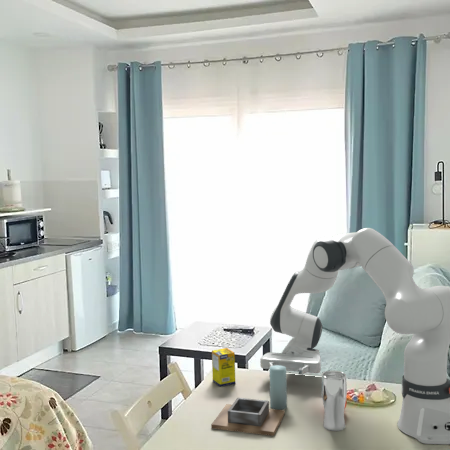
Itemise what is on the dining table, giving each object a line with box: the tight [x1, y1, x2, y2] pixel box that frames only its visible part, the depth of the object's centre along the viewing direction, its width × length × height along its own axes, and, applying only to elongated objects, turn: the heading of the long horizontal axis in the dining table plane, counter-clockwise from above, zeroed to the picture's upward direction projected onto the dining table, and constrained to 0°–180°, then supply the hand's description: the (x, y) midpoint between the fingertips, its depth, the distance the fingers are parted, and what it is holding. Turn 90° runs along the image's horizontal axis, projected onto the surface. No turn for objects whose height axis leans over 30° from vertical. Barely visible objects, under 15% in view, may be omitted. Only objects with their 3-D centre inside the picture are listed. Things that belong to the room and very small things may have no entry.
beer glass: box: [320, 369, 348, 432], centre depth 162 cm, size 7×7×15 cm
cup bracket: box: [210, 397, 286, 437], centre depth 167 cm, size 18×14×5 cm
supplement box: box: [211, 347, 236, 387], centre depth 196 cm, size 6×6×11 cm
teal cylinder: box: [269, 365, 288, 410], centre depth 176 cm, size 5×5×12 cm
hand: (286, 371), depth 187 cm, fingers open, 8 cm apart
